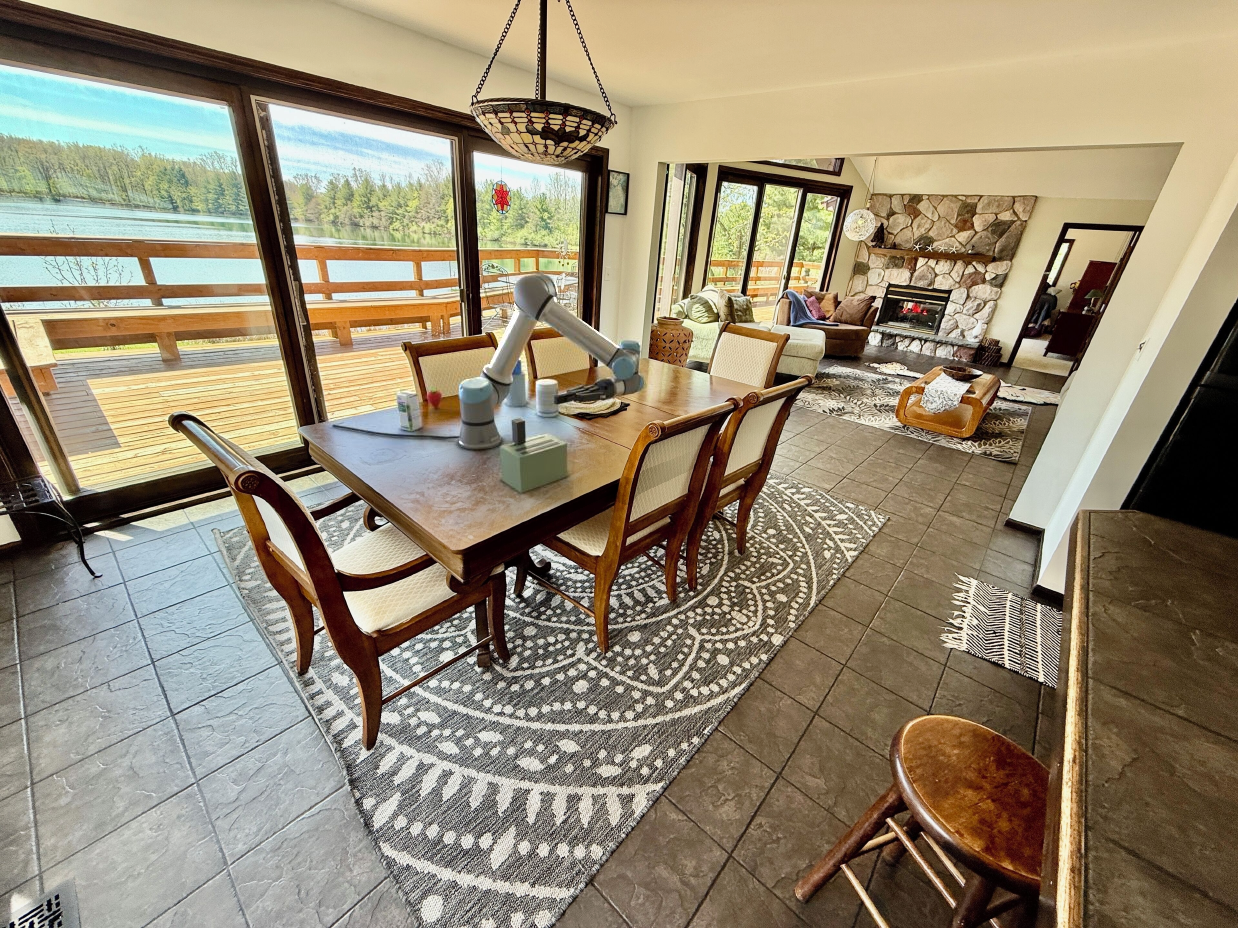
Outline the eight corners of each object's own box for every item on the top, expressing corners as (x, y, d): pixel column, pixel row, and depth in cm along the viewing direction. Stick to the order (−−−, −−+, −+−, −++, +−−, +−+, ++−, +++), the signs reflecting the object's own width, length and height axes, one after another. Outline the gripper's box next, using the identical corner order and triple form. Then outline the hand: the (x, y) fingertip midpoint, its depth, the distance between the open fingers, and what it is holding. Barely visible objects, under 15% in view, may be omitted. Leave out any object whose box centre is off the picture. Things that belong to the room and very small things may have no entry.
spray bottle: (530, 403, 225) (528, 349, 214) (516, 407, 218) (514, 352, 207) (515, 399, 229) (513, 346, 218) (502, 403, 222) (499, 349, 212)
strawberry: (425, 410, 209) (422, 388, 205) (432, 405, 216) (430, 383, 212) (438, 411, 209) (435, 389, 205) (445, 406, 216) (443, 384, 212)
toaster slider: (517, 445, 150) (516, 422, 146) (512, 442, 152) (511, 420, 148) (526, 443, 152) (525, 420, 148) (520, 440, 153) (519, 418, 150)
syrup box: (400, 429, 189) (394, 393, 183) (411, 424, 194) (406, 389, 188) (411, 431, 187) (406, 396, 181) (422, 427, 192) (417, 392, 186)
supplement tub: (562, 415, 211) (562, 383, 205) (542, 419, 206) (541, 386, 200) (552, 409, 219) (551, 377, 212) (533, 412, 214) (532, 380, 207)
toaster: (521, 493, 147) (519, 457, 142) (501, 480, 154) (499, 445, 149) (567, 476, 159) (567, 442, 154) (547, 465, 166) (546, 432, 161)
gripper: (620, 403, 169) (568, 416, 154) (596, 394, 177) (543, 406, 162) (621, 382, 165) (568, 394, 150) (596, 374, 174) (543, 384, 159)
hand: (555, 400), depth 156 cm, fingers closed
